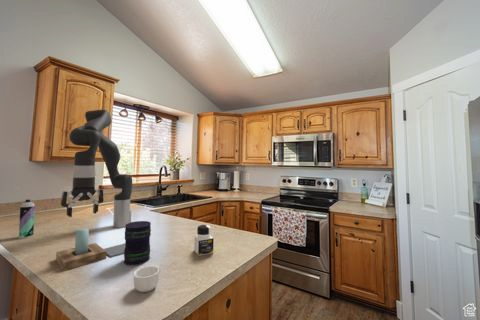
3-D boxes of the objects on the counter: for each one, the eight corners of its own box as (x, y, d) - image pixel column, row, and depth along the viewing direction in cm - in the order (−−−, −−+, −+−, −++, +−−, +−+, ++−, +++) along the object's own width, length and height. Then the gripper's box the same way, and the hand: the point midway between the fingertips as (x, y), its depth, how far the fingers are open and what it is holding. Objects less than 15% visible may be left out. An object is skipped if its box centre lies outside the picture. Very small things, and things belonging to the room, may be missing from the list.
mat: (126, 244, 105) (126, 242, 105) (136, 250, 98) (136, 248, 98) (101, 250, 97) (101, 249, 97) (110, 257, 90) (110, 256, 90)
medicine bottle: (198, 256, 92) (198, 228, 93) (193, 250, 99) (194, 224, 99) (213, 253, 96) (214, 226, 96) (208, 247, 102) (208, 223, 102)
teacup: (146, 298, 63) (146, 279, 63) (127, 292, 66) (127, 274, 66) (168, 281, 72) (169, 265, 73) (151, 276, 75) (151, 261, 75)
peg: (86, 255, 91) (87, 227, 91) (89, 258, 88) (90, 230, 89) (73, 259, 88) (74, 230, 88) (76, 262, 85) (77, 232, 85)
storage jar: (132, 268, 81) (133, 229, 81) (118, 261, 86) (119, 224, 87) (155, 258, 89) (156, 223, 90) (141, 253, 95) (142, 219, 95)
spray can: (16, 237, 111) (18, 199, 112) (30, 234, 116) (31, 198, 117) (22, 239, 109) (23, 200, 110) (35, 236, 114) (37, 199, 115)
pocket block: (95, 249, 98) (95, 243, 98) (106, 258, 89) (106, 251, 89) (55, 259, 87) (56, 252, 87) (63, 270, 78) (64, 262, 78)
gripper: (100, 175, 97) (99, 211, 96) (60, 176, 86) (58, 216, 85) (106, 176, 92) (105, 213, 91) (64, 177, 81) (63, 219, 81)
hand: (82, 214), depth 88 cm, fingers open, 8 cm apart
